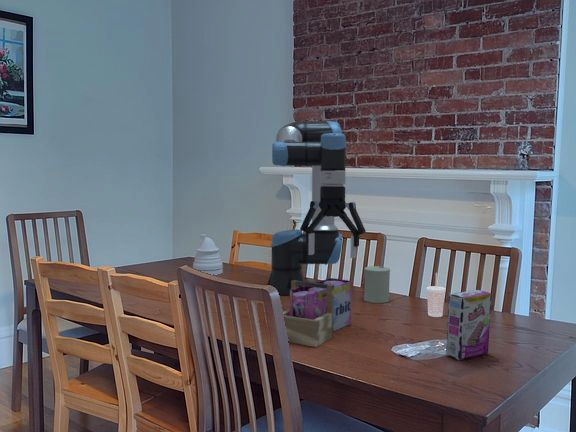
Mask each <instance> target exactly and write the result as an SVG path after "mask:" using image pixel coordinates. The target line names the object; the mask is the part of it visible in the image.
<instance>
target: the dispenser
mask: <svg viewBox="0 0 576 432" xmlns="http://www.w3.org/2000/svg"><path fill="white" fill-rule="evenodd" d="M298 285H301V286H309V287H318V288H326V289H327V313H326V314H324V315H322V316H320V317H318V318H316V319H314V320H313V319H306V318H300V317H293V316H289V308H287V309H285V310H283V311H282V312H283V316H284V321H285V326H286V331H287V335H288V339H289V342H288V343H291V344H296V345H303V346H308V347H314V348H317V347H319V346H321V345H322V344H323V343H325V342H326V341H329V340H330V339H332V338H333V337H334V331H333V327H334V285H331V284H321V283H316V282H312V281H305V282H304V281H297V280H293V281H291V290H293V289H295V288H298Z"/></svg>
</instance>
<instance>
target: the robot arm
mask: <svg viewBox="0 0 576 432" xmlns="http://www.w3.org/2000/svg"><path fill="white" fill-rule="evenodd" d="M346 149H347V139H346V135H345V134H344V133H342V128H341V124H340V123H338V121H337V122H336V121H330V120H322V121H321V120H318V121H317V120H314V121H312V120H311V121H305V120H304V121H303V120H299V121H293V122H290V123H288V124H286V125H284V126H282V127H280V129H279V130H278V131H277V133H276V135H275V141H274V142H273V143H272V147H271V151H272V152H271V153H272V154H271V156H272V157H271V159H272V161H271V163H272V164H273V165H274V166H282V167H286V166H289V167H290V166H291V167H292V166H293V167H294V166H295V167H296V166H298V167H300V166H305V167H306V166H307V167H309V166H311V174H312V175H311V201H310V203H309V209H308V211H307V213H306V214H305V217H304V219H303V220H302V221H303V222H302V223H301V226H300V228H299V229H287V230H281V231H278V232H275V233H273V234H272V236H271V244H270V247H271V267H270V269H271V272H270V275H269V278H268V281H267V283H266V286H267V285H271V286H273V287H275V288H276V289H277V290H278V292H279V294H280V296H290V290H291V281H293V280H297V281H304V282H306V281H305V277H304V275H303V267H302V265H325V266H326V265H337V263H338V262H339V260H340V257H341V252H342V247H343V246H342V245H343V234H342V233H340V232H339V228H338V227H337V226H336V224H335V218H337V217H338V218H340V219H341V221H343V223H344V225H345V226H346V227H347V228H348V230H349V231H350V233H351V234H352V235H350V259H354V258H357V247H359V246H360V235H363V234H365V233H366V232H367V231H366V228H365V226H364V224H363V222H362V219H361V217H360V216H359V212H358V210H357V204H356V202H355V201H350V202H346V187H345V186H344V185H346V155H347V153H346V152H347V150H346ZM346 208H347V210H349V213H350V215H351V217H352V220H353V222H354V223H353V222H352V220H351V219H350V218H349V216H348V214H347V212H346V211H345V209H346ZM304 232H305V233H304ZM299 287H302V286H301V285H298V288H299Z"/></svg>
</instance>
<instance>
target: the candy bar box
mask: <svg viewBox="0 0 576 432" xmlns="http://www.w3.org/2000/svg"><path fill="white" fill-rule="evenodd" d="M491 306H492V293H490V292H488V291H483V290H479V289H474V290H469V291H461V292H454V293H449V294H448V307H447V308H448V309H447V311H448V312H447V328H446V329H447V331H446V350H445V356H447V357H449V358H451V359H454V360H456V361H462V360H463V361H464V360H467V359H471V358H475V357H479V356H483V355H487V354H488V353H489V343H490V342H489V341H490V326H491V325H490V321H491Z"/></svg>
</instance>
